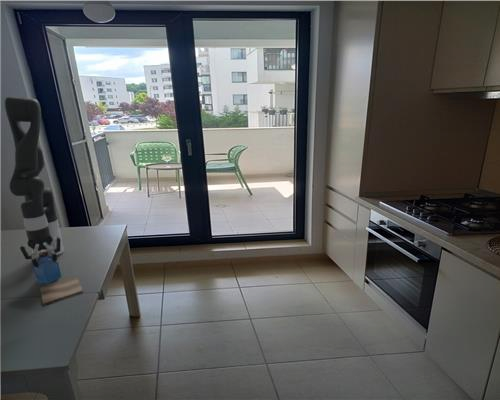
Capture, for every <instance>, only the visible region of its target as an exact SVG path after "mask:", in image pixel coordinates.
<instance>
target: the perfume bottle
mask: <svg viewBox="0 0 500 400" xmlns="http://www.w3.org/2000/svg"><path fill="white" fill-rule="evenodd" d="M38 259H39V260H38V261H37V265H38V267H36V266H33V271H34V276H35V279H36V282H37V283H42V284H45V285H50V283H52V282H54V281H56V280H57V279H60V278H61V277H62V274H61V269H60V265H59V263H58V262H57V261H56V262H53V258H52V257H49V254H48V252H46V251H45V252H41V251H40V252H39V253H38Z"/></svg>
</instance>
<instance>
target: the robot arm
mask: <svg viewBox="0 0 500 400" xmlns="http://www.w3.org/2000/svg"><path fill="white" fill-rule="evenodd" d="M4 109H5V113H6V117H7V120H8V124H9V126H10V130H11V134H12V138H13V143H14V147H15V148H14V149H15V151H14V155H15V156H14V162H15V163H14V169H13V174H12V176H11V179H10V182H9V190H10V192H11V194H12V195H14V196H15V197H24V202H21V204H20V210H21V214H22V217H23V225H24V229H25V233H26V238H27V243H24V244H20V245H19V249H20V251H21V254H23V257H24V259H25V260H31V261H32V266H33V267H34V266H36V267H38V265H37V262H38V261H37V254H38V252H40V253H41V252H45V251H46V252H48V254H49V258H51V259H53V262H57V261H58V257H57V256H59V255H61V254H63V253H64V252H65V248H64V243H63V238H62V235H61V234H62V233H61V228H60V225H59V221H58V216H57V212H56V205H55V204H56V203H55V199H54V193H53V191H52V189H51V188H50V187H45V183H44V181H43V179H41V177H39V175H40V174H41V172H42V171H43V169H44V167H45V159H44V153H43V150H42V148H41V146H40V145H39V139H40V131H41V121H42V109H41V105H40V102H39V101H38V99H35V98H31V97H29V98H28V97H19V96H18V97H17V96H8V97H7V96H6V98H5V100H4ZM21 122H23V123H26V122H27V123H30V125H29V127H28V130H27V132H26V130H25V128H24V127H23V125H22V123H21ZM44 208H45V209H44ZM28 247H29V248H30V249H32V252H31V254H29V253H28V251H27V250H28Z"/></svg>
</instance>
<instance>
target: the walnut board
mask: <svg viewBox="0 0 500 400" xmlns="http://www.w3.org/2000/svg"><path fill="white" fill-rule="evenodd" d="M39 289H40V295H41V300H42V305H43V306H45V305H49V304H52V303H55V302H58V301H61V300H64V299H66V298H67V299H68V298H70V297H74V296H76V295H79V294H82V293H84V290H83V287H82V284H81V282H80V280H79V278H78V276H75V277H71V278H68V279H67V278H66V279H63V280H61V281H57V282H54V283H51V284H50V283H49V284H46V285H43V286H41V287H39Z"/></svg>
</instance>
